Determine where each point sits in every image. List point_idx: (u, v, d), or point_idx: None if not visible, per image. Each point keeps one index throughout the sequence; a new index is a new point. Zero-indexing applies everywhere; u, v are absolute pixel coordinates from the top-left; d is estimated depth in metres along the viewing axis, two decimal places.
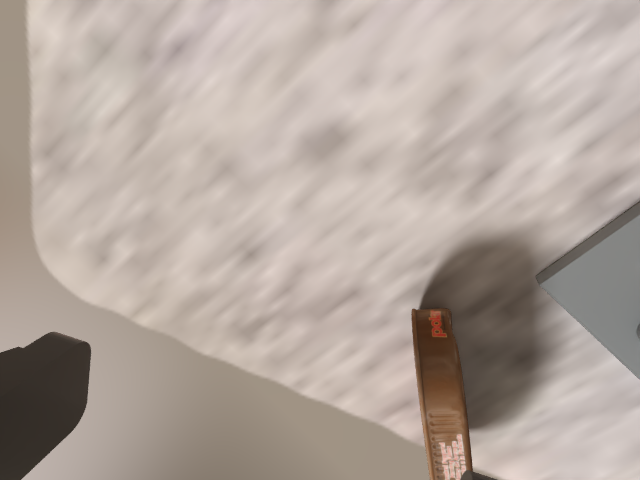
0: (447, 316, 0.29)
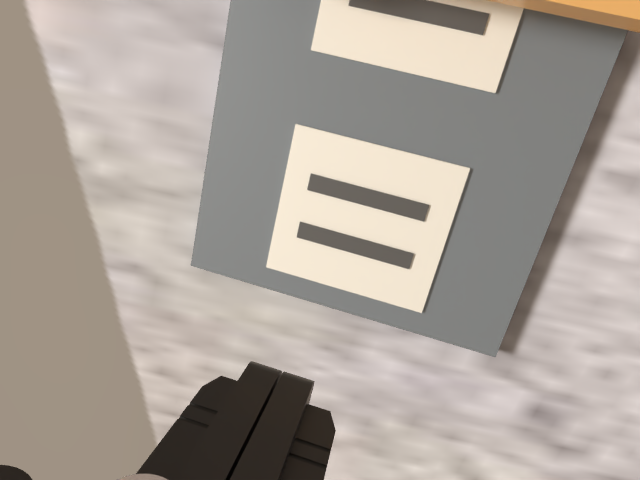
0: None
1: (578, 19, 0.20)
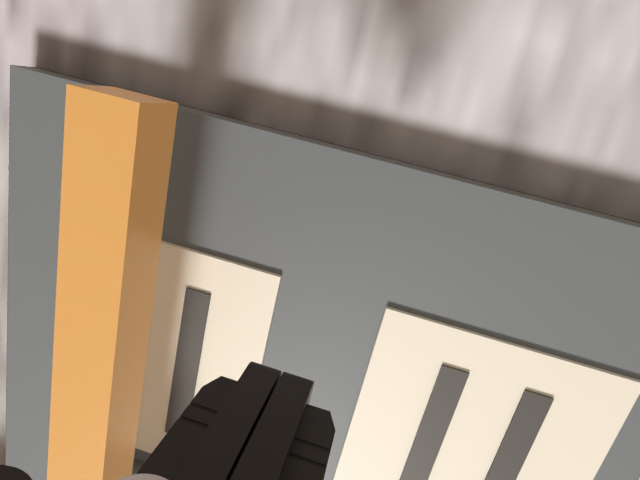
0: None
1: (163, 218, 0.14)
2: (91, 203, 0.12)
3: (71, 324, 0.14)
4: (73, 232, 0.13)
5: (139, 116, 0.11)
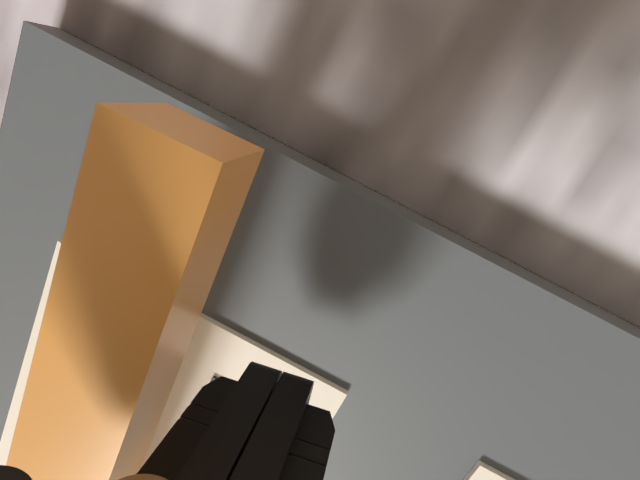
0: None
1: (202, 308, 0.09)
2: (103, 298, 0.07)
3: (36, 456, 0.09)
4: (64, 333, 0.08)
5: (216, 184, 0.07)
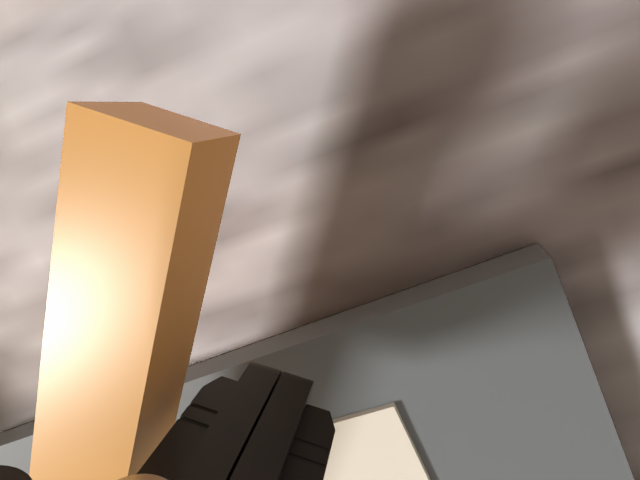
0: None
1: (202, 300, 0.10)
2: (98, 293, 0.08)
3: (57, 461, 0.09)
4: (67, 333, 0.08)
5: (190, 165, 0.07)
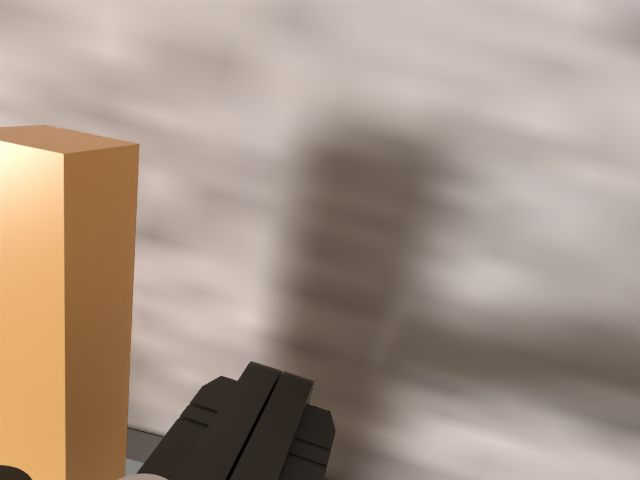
0: None
1: (131, 311, 0.10)
2: (7, 312, 0.08)
3: None
4: None
5: (66, 176, 0.07)
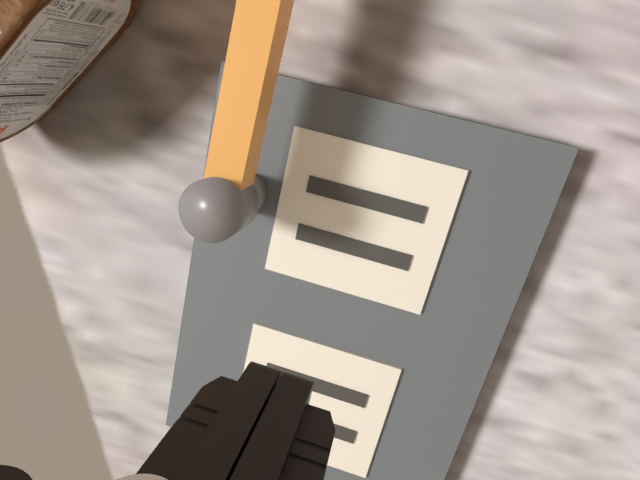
0: None
1: None
2: None
3: None
4: None
5: None
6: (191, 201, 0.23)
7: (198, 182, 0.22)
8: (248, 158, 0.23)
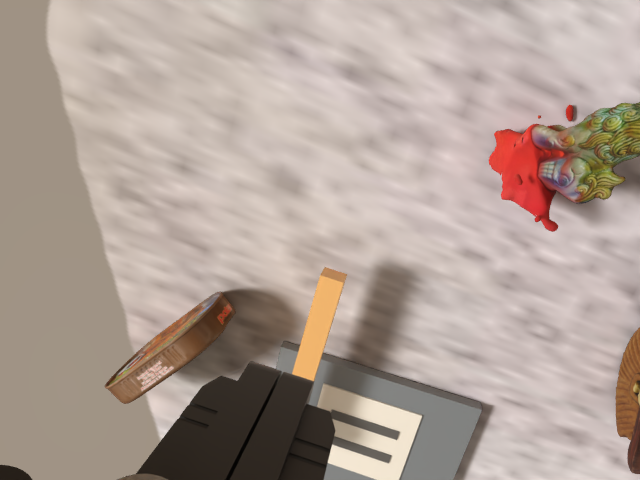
0: (232, 315, 0.43)
1: None
2: (321, 309, 0.38)
3: (306, 347, 0.40)
4: (313, 317, 0.39)
5: (342, 286, 0.38)
6: None
7: None
8: None
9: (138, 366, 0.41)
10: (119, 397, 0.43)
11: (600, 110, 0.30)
